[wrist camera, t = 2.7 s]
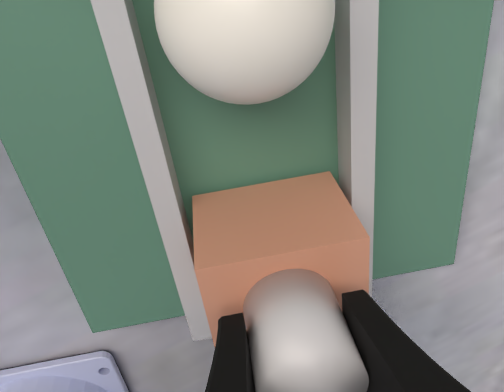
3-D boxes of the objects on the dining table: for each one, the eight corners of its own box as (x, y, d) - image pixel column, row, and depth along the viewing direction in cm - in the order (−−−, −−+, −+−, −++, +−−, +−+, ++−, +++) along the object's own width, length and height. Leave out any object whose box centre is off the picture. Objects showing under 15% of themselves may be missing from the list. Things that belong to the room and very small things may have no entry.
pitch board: (442, 249, 20) (472, 287, 18) (96, 315, 20) (86, 362, 17) (556, -616, 9) (677, -794, 7) (-287, -530, 8) (-460, -698, 6)
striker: (333, 256, 18) (407, 419, 12) (211, 279, 18) (226, 456, 12) (330, 171, 16) (418, 317, 10) (192, 196, 16) (197, 360, 10)
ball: (313, 64, 14) (361, 114, 10) (177, 87, 14) (174, 146, 10) (305, -101, 12) (362, -115, 8) (140, -76, 11) (119, -78, 8)
